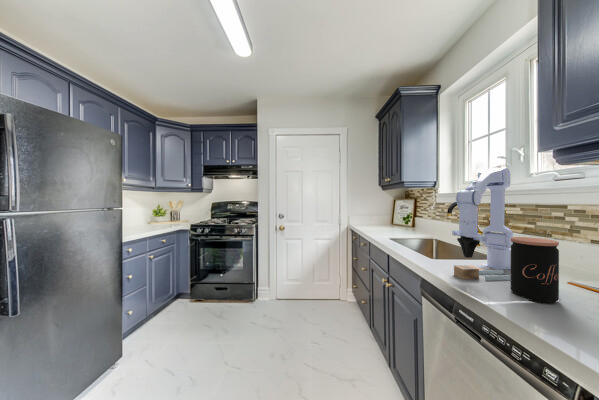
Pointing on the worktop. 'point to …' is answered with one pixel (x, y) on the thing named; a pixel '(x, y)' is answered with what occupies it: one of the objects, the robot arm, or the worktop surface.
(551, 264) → the coffee jar
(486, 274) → the acrylic channel
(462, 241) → the robot arm
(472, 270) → the walnut block
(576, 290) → the worktop surface
